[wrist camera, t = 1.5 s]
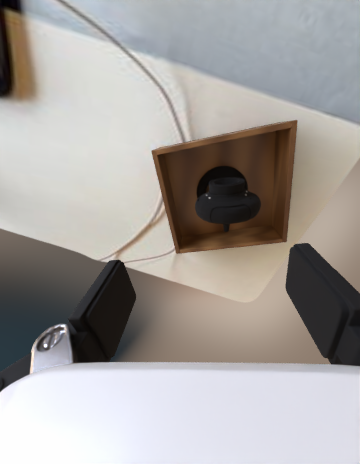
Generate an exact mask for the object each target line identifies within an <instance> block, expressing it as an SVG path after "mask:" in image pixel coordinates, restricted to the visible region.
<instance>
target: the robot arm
mask: <svg viewBox="0 0 360 464" xmlns="http://www.w3.org/2000/svg"><path fill="white" fill-rule="evenodd" d="M286 291H287V293H288V295H289V297H290V299H291V300H292V302H293V304H294V306H295V308H296V309H297V311H298V313H299V315H300V317H301V318H302V320H303V322H304V324H305V326H306V327H307V329H308V331H309V333H310V334H311V336H312V338H313V340H314V342H315V344H316V345H317V347H318V349H319V351H320V353H321V354H322V356H323V357H324V358H328V359H329V362H330V363H331V365H330V364H329V365H328V364H295V363H294V364H291V363H206V362H205V363H204V362H199V363H197V362H195V363H194V362H110V359H111V357H113V356H114V355H115V352H116V350H117V347H118V344H119V342H120V339H121V337H122V334H123V332H124V329H125V326H126V324H127V321H128V318H129V315H130V313H131V311H132V308H133V305H134V303H135V300H136V294H135V291H134V288H133V286H132V283H131V281H130V278H129V275H128V273H127V270H126V268H125V265H124V263H123V262H121V261H120V260H111V261H109V262H108V263H107V265H106V266H105V267H104V269H103V270H102V272H101V273H100V275H99V276H98V277H97V279H96V280H95V282H94V283H93V284H92V286H91V287H90V289H89V290H88V291H87V293H86V294H85V296H84V297H83V299H82V300H81V301H80V303H79V304H78V306H77V307H76V309H75V310H74V312H73V313H72V314H71V316H70V317H69V318H68V320H69V322H68V324H67V325H65V324H58V325H55V326H52V327H51V328H49V329H47V330H46V331H45V332H43V333H42V334H41V335H40V336H39V337H38V338H37V340H36V341H35V343H34V345H33V348H32V352H31V353H30V354H28V355H26V356H25V357H23V358H22V359H20V360H19V361H17V362H15V363H14V364H12V365H11V366H9V367H8V368H6V369H4V370H3V371H2V372H0V464H360V293H359V292H358V291H356V289H355V288H353V286H352V285H350V283H348V281H346V280H345V278H343V277H342V276H341V275H340V274H339V273H338V272H337V271H336V270H335V269H334V268H332V266H331V265H330V264H329V263H328V262H327V261H326V260H325V259H323V257H321V255H320V254H319V253H318V252H317V251H316V250H315V249H314V248H313V247H312V246H311V245H310V244H308V243H302V244H295V245H294V247H291V248H290V254H289V262H288V270H287V278H286Z"/></svg>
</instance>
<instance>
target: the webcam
mask: <svg viewBox="0 0 360 464" xmlns="http://www.w3.org/2000/svg"><path fill="white" fill-rule="evenodd" d="M208 184H209V191H208V192H207V193H206V189H207V186H208ZM196 194H197V200H196V203H195V210H196V214H197V215H198V216H199V217H200V218H201V219H202V220H204V221H207V222H210V223H215V224H223V228H224V232H229V226H230V224H234V223H240V222H246V221H248V220H250V219H252V218H254V217H255V216H256V215H257V214H258V212H259V210H260V207H261V201H260V199H259V197H258V196H257V195H256V194H254V193H252V192H250V191H248V185H247V181H246V178H245V177H244V175H243V174H242V173H241V172H240V171H238V170H237V169H236V168H233V167H230V166H219V167H215V168H212V169H211V170H209V171H207V172H206V173H205V174H204V175H203V176H202V178H201V179H200V181H199V183H198V186H197V193H196Z"/></svg>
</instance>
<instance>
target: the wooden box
mask: <svg viewBox="0 0 360 464" xmlns="http://www.w3.org/2000/svg"><path fill="white" fill-rule="evenodd" d="M296 131H297V120H294V121H286V122H278V123H274V124H269V125H264V126H260V127H255V128H250V129H245V130H241V131H236V132H231V133H226V134H222V135H217V136H212V137H208V138H203V139H198V140H193V141H189V142H184V143H179V144H175V145H170V146H165V147H160V148H157V149H155V150H152V155H153V160H154V164H155V168H156V172H157V176H158V180H159V184H160V188H161V192H162V196H163V201H164V205H165V209H166V213H167V217H168V221H169V225H170V229H171V233H172V237H173V242H174V246H175V250H176V253H177V254H178V253H187V252H196V251H206V250H215V249H225V248H234V247H244V246H253V245H263V244H272V243H281V242H287V231H288V220H289V209H290V198H291V187H292V176H293V164H294V153H295V142H296ZM219 166H230V167H233V168H236V169H237V170H238V171H240V172H241V173H242V174H243V175H244V177H245V178H246V181H247V185H248V191H250V192H252V193H254V194H256V195H257V196H258V197H259V199H260V201H261V207H260V210H259V212H258V214H257V215H256V216H255V217H254V218H252V219H250V220H248V221H246V222H240V223H234V224H230V226H229V232H224V228H223V224H215V223H210V222H207V221H204V220H202V219H201V218H200V217H199V216H198V215H197V214H196V210H195V203H196V200H197V194H196V193H197V186H198V183H199V181H200V179H201V178H202V176H203V175H204V174H205V173H206V172H207V171H209V170H211V169H212V168H215V167H219ZM208 191H209V184H208V186H207V189H206V193H207V192H208Z"/></svg>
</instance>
